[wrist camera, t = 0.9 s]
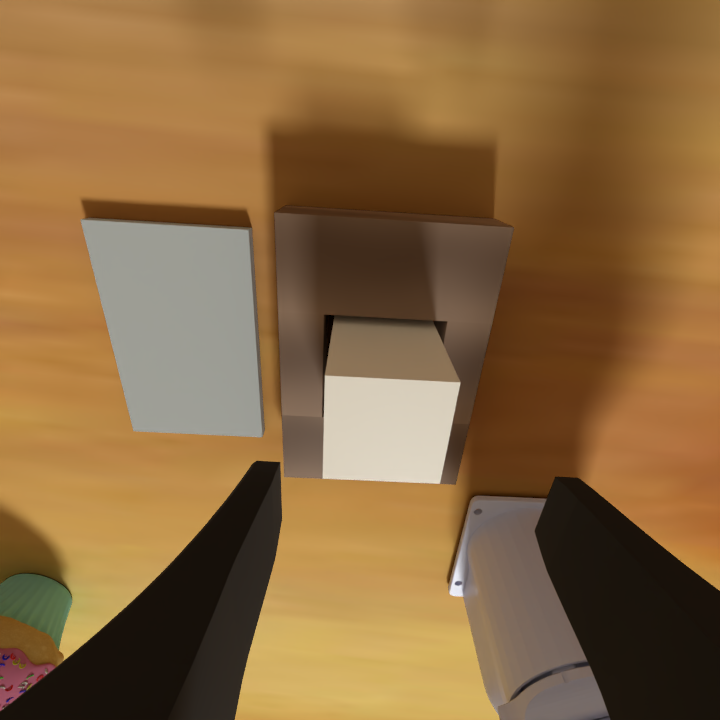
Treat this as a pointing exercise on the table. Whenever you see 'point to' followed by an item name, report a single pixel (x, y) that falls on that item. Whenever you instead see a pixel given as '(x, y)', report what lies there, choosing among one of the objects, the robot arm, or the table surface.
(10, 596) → the cupcake
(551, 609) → the robot arm
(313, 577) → the table surface
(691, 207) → the table surface
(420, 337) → the cream block
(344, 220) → the pocket board
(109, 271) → the grey mat
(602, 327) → the table surface
